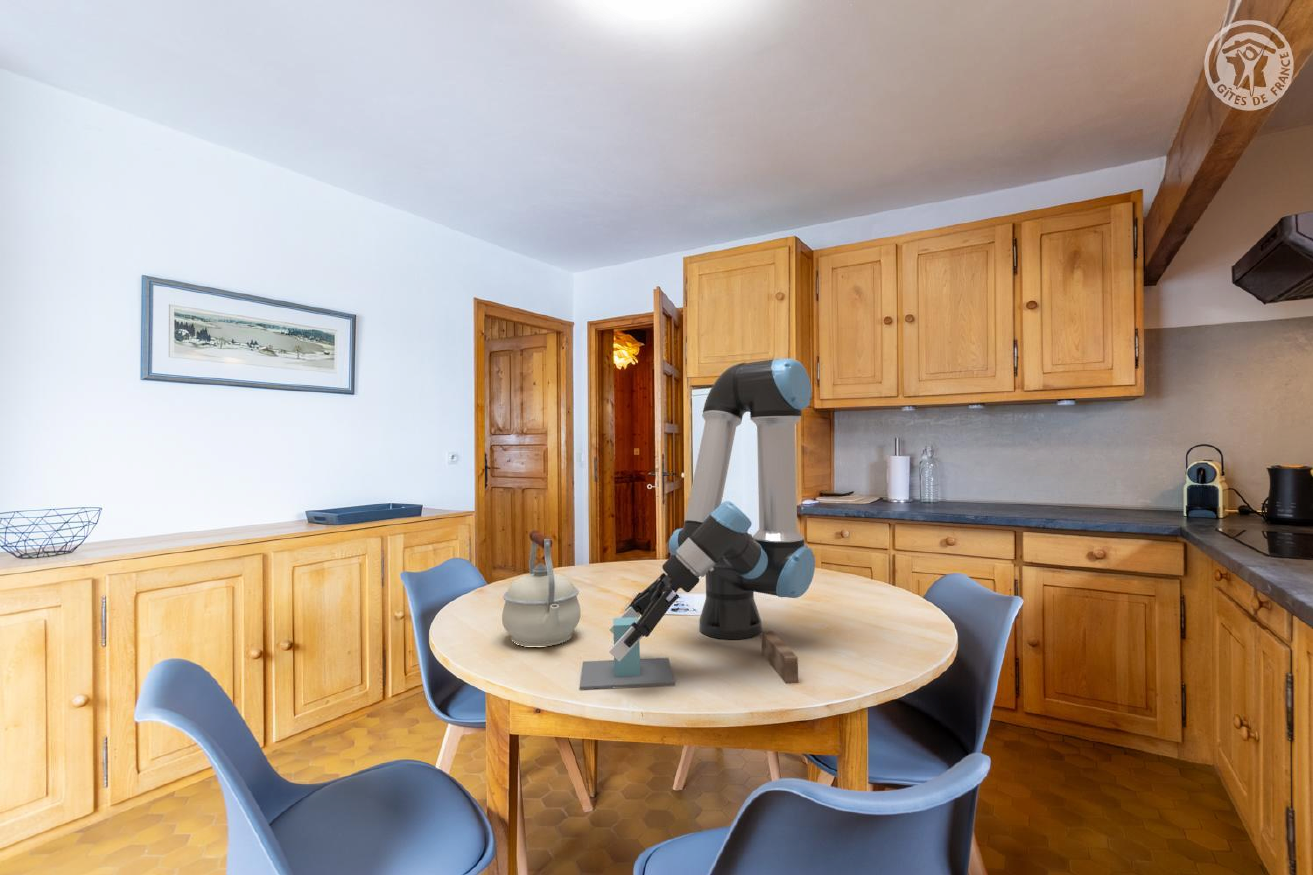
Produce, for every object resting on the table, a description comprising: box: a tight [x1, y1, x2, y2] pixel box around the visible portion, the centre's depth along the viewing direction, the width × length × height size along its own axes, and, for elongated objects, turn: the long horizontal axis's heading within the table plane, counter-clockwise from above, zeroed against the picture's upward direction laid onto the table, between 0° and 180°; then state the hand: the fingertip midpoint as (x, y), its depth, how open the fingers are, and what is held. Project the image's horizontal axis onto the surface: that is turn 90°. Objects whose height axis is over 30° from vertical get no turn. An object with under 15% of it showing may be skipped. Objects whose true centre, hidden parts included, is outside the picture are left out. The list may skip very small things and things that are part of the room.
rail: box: [761, 630, 799, 684], centre depth 122 cm, size 16×2×5 cm, turn 6°
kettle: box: [501, 530, 581, 647], centre depth 141 cm, size 25×18×25 cm
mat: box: [579, 657, 676, 690], centre depth 119 cm, size 13×18×1 cm
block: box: [612, 617, 641, 677], centre depth 120 cm, size 5×5×10 cm
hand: (613, 644), depth 119 cm, fingers open, 12 cm apart
